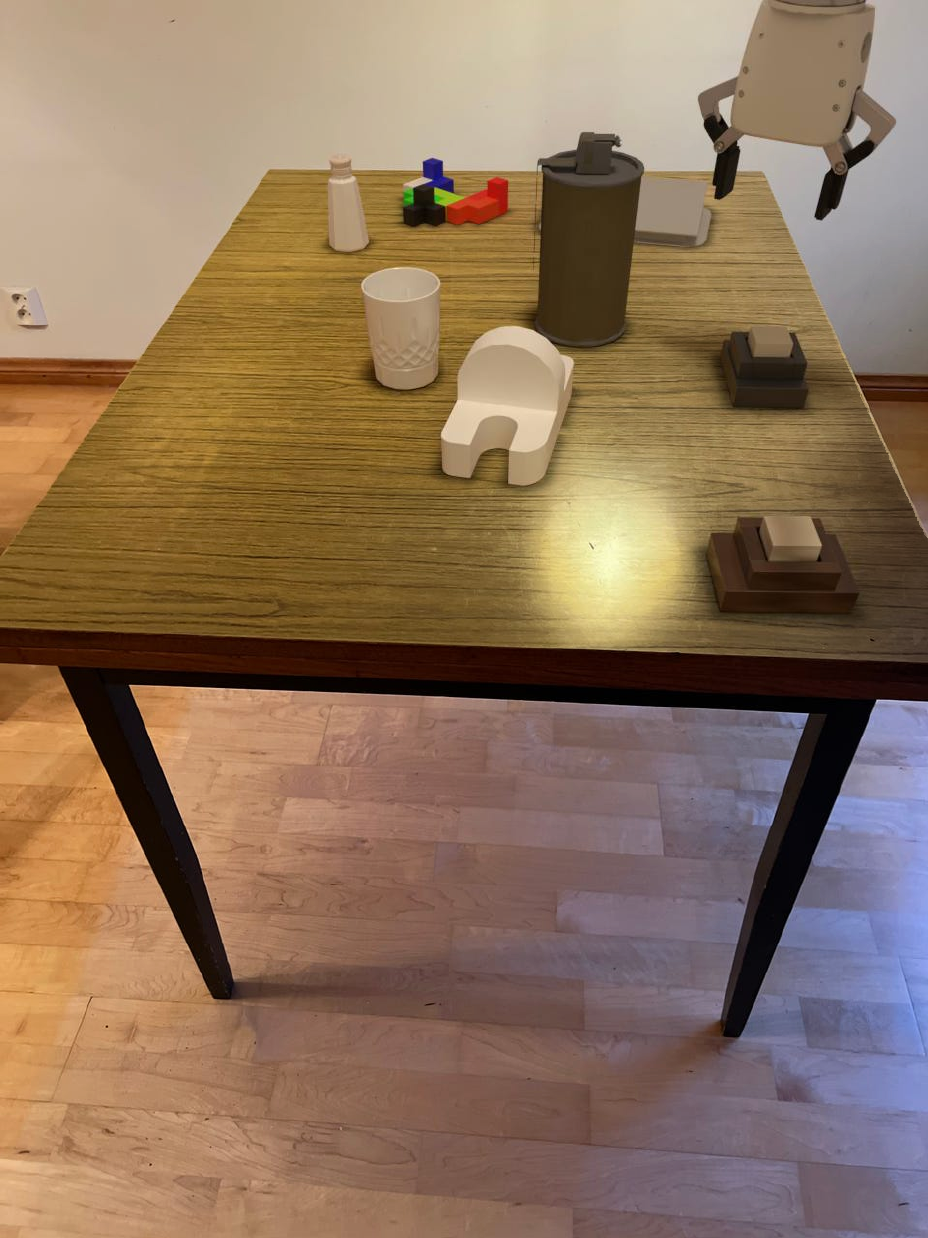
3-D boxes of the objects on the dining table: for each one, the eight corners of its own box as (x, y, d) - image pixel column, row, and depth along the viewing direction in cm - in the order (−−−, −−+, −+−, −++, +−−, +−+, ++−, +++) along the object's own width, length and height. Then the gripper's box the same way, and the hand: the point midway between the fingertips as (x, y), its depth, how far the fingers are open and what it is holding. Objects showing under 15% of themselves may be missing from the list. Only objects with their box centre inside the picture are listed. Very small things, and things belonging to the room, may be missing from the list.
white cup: (447, 357, 97) (444, 267, 90) (438, 394, 92) (435, 302, 84) (376, 355, 98) (368, 265, 91) (364, 392, 92) (354, 299, 85)
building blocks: (372, 212, 128) (369, 180, 125) (433, 187, 135) (432, 157, 131) (447, 238, 121) (446, 205, 118) (508, 211, 127) (508, 179, 124)
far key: (789, 359, 88) (793, 343, 87) (752, 359, 89) (756, 342, 87) (782, 342, 91) (786, 326, 90) (747, 341, 91) (750, 325, 90)
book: (556, 193, 132) (558, 165, 129) (713, 206, 127) (718, 178, 124) (534, 233, 121) (535, 203, 119) (704, 248, 117) (709, 218, 114)
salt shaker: (329, 253, 118) (318, 165, 110) (328, 237, 121) (318, 151, 114) (370, 250, 118) (362, 162, 110) (368, 235, 122) (360, 148, 114)
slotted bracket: (540, 488, 80) (546, 391, 73) (438, 473, 82) (434, 378, 75) (573, 387, 92) (581, 296, 85) (484, 377, 94) (484, 287, 87)
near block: (828, 554, 73) (841, 515, 70) (851, 613, 68) (867, 574, 65) (706, 552, 73) (714, 514, 70) (720, 611, 68) (730, 573, 65)
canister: (624, 306, 105) (645, 121, 91) (627, 349, 98) (650, 154, 84) (533, 304, 106) (540, 120, 92) (529, 346, 99) (536, 152, 85)
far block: (803, 408, 89) (814, 372, 86) (733, 406, 89) (741, 370, 86) (785, 359, 96) (794, 324, 93) (719, 357, 96) (726, 323, 93)
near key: (804, 533, 69) (810, 515, 68) (816, 563, 66) (822, 545, 65) (758, 532, 69) (763, 515, 68) (768, 563, 67) (773, 545, 65)
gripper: (944, -15, 69) (876, 210, 81) (735, -33, 76) (701, 176, 89) (920, 2, 65) (852, 237, 77) (701, -19, 72) (670, 200, 84)
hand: (771, 204), depth 83 cm, fingers open, 9 cm apart
